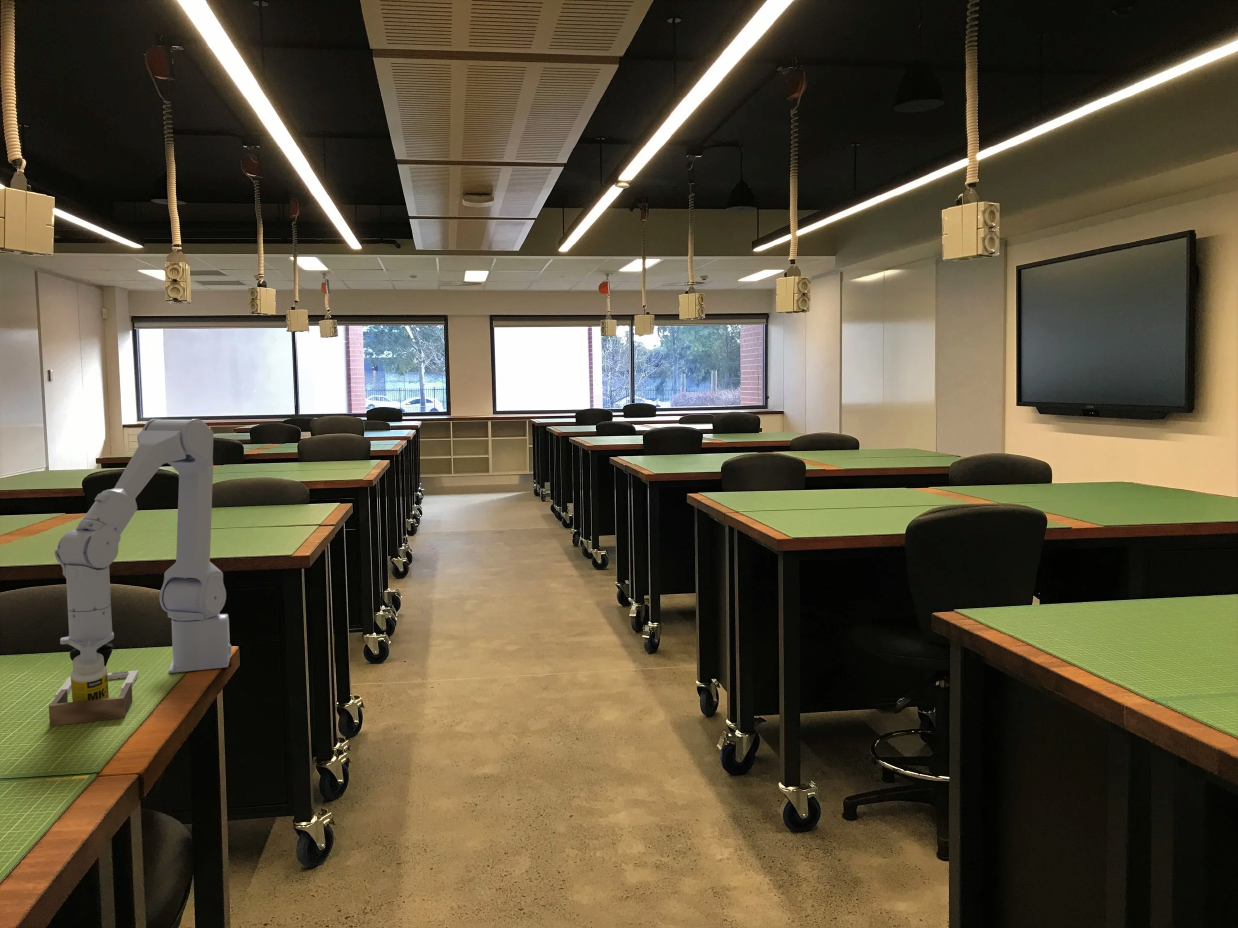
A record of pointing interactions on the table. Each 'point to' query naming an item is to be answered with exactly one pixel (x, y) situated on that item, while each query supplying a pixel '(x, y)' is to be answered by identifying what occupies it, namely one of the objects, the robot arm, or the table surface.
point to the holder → (89, 708)
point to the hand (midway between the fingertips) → (93, 693)
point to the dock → (128, 675)
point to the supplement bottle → (89, 679)
